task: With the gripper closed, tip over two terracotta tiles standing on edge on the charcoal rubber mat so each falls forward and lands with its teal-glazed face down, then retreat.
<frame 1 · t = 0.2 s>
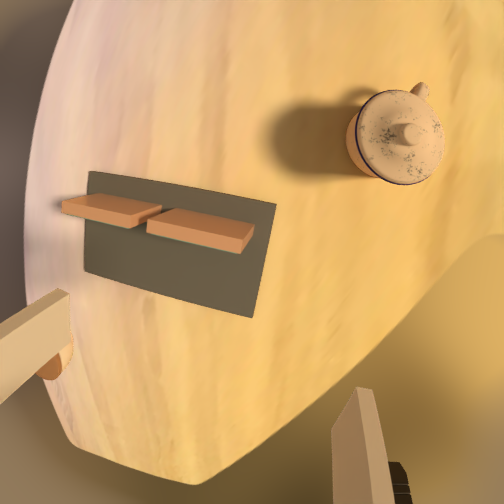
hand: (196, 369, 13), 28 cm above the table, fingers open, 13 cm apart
lidded jar: (61, 333, 50), on the table
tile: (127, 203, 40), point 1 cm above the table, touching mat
teacup with lid: (386, 132, 34), on the table
mat: (166, 240, 41), on the table
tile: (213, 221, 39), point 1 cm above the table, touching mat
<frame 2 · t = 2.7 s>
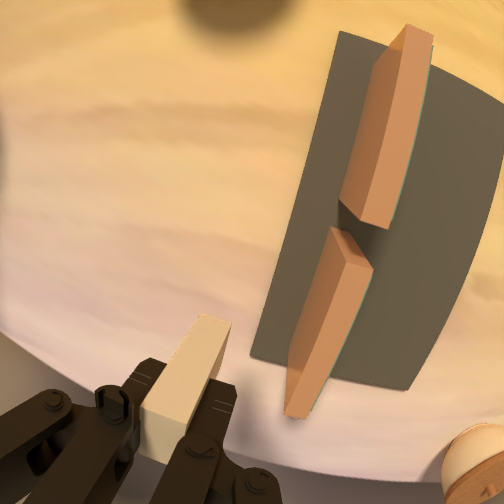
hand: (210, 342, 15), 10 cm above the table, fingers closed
lidded jar: (469, 439, 27), on the table
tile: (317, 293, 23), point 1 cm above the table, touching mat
mat: (392, 230, 22), on the table
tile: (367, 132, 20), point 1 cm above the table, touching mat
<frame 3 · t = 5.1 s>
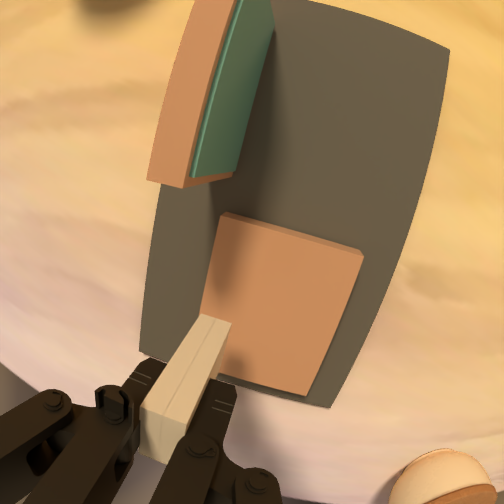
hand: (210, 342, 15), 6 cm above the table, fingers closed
lidded jar: (429, 465, 23), on the table
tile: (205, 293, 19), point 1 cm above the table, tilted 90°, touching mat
mat: (284, 207, 19), on the table
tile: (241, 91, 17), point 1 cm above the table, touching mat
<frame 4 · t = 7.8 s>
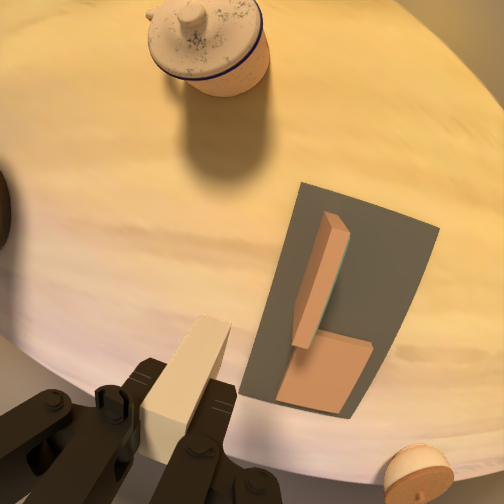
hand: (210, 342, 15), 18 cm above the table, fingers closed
lidded jar: (411, 454, 38), on the table
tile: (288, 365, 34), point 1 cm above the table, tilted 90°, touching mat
teacup with lid: (215, 53, 28), on the table
mat: (333, 320, 33), on the table
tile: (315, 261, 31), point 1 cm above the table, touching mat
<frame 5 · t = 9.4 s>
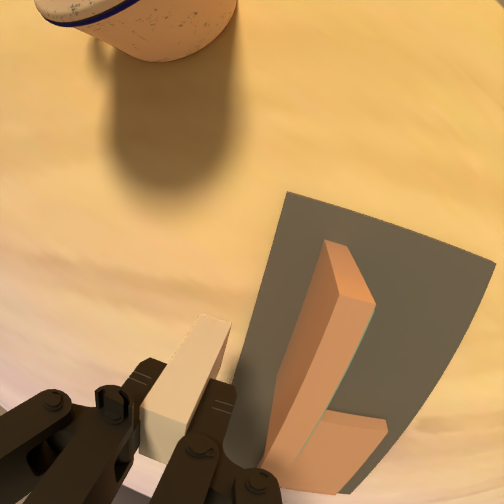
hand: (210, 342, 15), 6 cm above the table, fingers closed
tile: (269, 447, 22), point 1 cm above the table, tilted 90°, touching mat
teacup with lid: (159, 3, 16), on the table
mat: (333, 394, 22), on the table
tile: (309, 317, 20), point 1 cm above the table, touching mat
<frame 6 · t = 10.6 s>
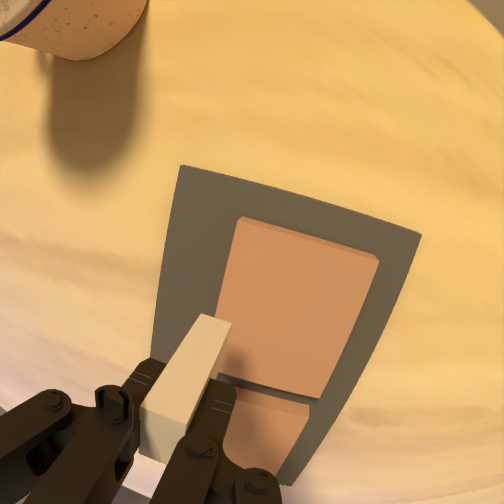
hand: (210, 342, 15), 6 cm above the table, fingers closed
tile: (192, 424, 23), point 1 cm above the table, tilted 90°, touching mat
teacup with lid: (89, 8, 17), on the table
mat: (250, 372, 22), on the table
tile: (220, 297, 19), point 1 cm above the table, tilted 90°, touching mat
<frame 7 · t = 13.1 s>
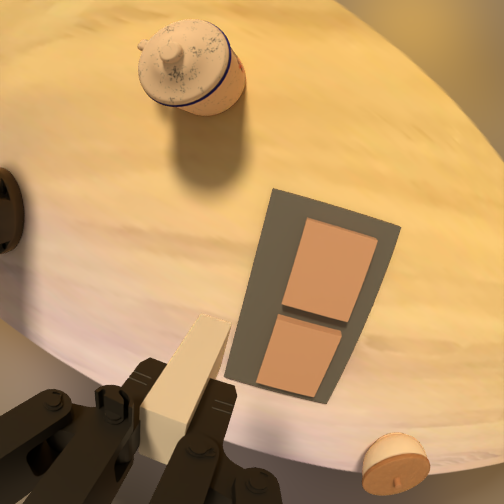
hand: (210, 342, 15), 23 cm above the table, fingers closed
lidded jar: (390, 443, 42), on the table
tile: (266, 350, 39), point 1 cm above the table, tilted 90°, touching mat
teacup with lid: (200, 76, 33), on the table
mat: (305, 310, 38), on the table
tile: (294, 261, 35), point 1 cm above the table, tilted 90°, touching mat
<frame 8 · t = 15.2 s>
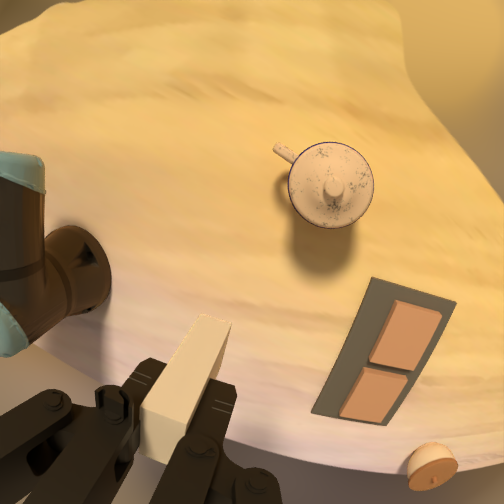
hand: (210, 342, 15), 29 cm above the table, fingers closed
lidded jar: (426, 450, 50), on the table
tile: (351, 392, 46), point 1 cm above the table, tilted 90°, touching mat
teacup with lid: (316, 174, 40), on the table
mat: (382, 362, 46), on the table
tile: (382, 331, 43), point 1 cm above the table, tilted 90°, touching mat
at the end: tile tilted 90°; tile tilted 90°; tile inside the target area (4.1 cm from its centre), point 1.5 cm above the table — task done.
